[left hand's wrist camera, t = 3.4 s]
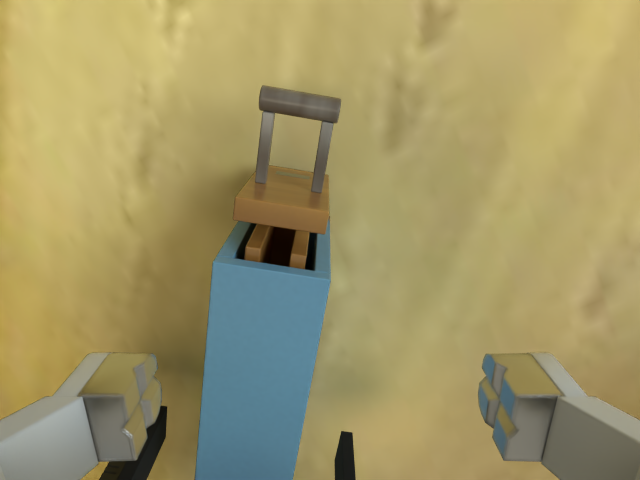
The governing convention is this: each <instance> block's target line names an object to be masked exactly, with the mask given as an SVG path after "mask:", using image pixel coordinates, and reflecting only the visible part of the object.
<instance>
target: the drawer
mask: <svg viewBox="0 0 640 480" xmlns="http://www.w3.org/2000/svg"><path fill="white" fill-rule="evenodd" d="M340 106H341V99H339V98H333V97H328V96H322V95H316V94H310V93H304V92H299V91H293V90H287V89H281V88H276V87H270V86H264V85H263V86H262V87H261V91H260V96H259V109H260V110H261V111H263V113H262V122H261V131H260V139H259V148H258V157H257V166H256V171H255V173H254V174H253V175H252V176H251V178H250V179H249V180H248V181H247V183H246V184H245V185H244V187H243V188H242V189H241V190H240V192H239V193H238V194H237V196H236V197H235V203H234V213H233V220H236V221H243V222H249V223H255V224H257V225H256V227H255V229H254V231H253V233H252V235H251V237H250V239H249V241H248V243H247V245H246V247H245V256H244V260H247V261H254V262H260V263H267V264H273V265H279V266H286V267H292V268H299V269H305V264H306V257H307V249H308V241H309V232H311V233H318V234H325V233H326V228H327V222H328V217H329V176H328V175H325V170H326V164H327V159H328V153H329V147H330V141H331V135H332V129H333V123H337V122H338V118H339V112H340ZM275 113H279V114H284V115H290V116H296V117H302V118H308V119H314V120H320V121H322V125H321V131H320V137H319V143H318V150H317V156H316V162H315V168H314V173H313V172H307V171H301V170H295V169H289V168H283V167H277V166H271V165H269V159H270V151H271V143H272V135H273V126H274V118H275Z"/></svg>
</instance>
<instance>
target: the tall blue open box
mask: <svg viewBox="0 0 640 480" xmlns="http://www.w3.org/2000/svg"><path fill="white" fill-rule="evenodd" d="M256 225H257V224H255V223H249V222H243V221H238V223H237V224H236V226H235V227H234V229H233V231H232V232H231V234H230V235H229V237H228V239H227V240H226V242H225V243H224V245H223V247H222V248H221V250H220V251H219V253H218V255H217V256H216V258H215V260H214V261H213V265H212V277H211V289H210V302H209V314H208V326H207V338H206V350H205V362H204V374H203V386H202V398H201V411H200V423H199V435H198V447H197V459H196V471H195V480H293V475H294V470H295V465H296V459H297V454H298V449H299V444H300V438H301V433H302V428H303V423H304V418H305V412H306V407H307V402H308V397H309V391H310V386H311V381H312V376H313V370H314V365H315V360H316V355H317V350H318V344H319V339H320V334H321V329H322V323H323V318H324V313H325V308H326V302H327V297H328V292H329V287H330V282H331V275H330V274H331V269H330V216H329V217H328V222H327V228H326V233H325V234H318V233H311V232H309V241H308V249H307V257H306V264H305V269H299V268H292V267H286V266H279V265H273V264H267V263H260V262H254V261H247V260H244V256H245V247H246V245H247V243H248V241H249V239H250V237H251V235H252V233H253V231H254V229H255V227H256Z"/></svg>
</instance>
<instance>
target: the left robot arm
mask: <svg viewBox="0 0 640 480" xmlns="http://www.w3.org/2000/svg"><path fill="white" fill-rule="evenodd" d="M157 369H158V365H157V360H156V356H155V355H154V354H152V353H114V352H113V353H110V352H93V353H90V354H88V355H87V356H86V357H85V358H84V359H83V360H82V362H81V363H80V364H79V365H78V366H77V367H76V369H75V370H74V371H73V372H72V373H71V375H70V376H69V377H68V378H67V379H66V380H65V382H64V383H63V384H62V385H61V386H60V388H59V389H58V390H57V391H56V392H55V393H54V395H53V396H50V397H43V398H42V399H40V400H38V401H36V402H34V403H32V404H30V405H28V406H26V407H24V408H22V409H21V410H19V411H17V412H15V413H13V414H11V415H9V416H7V417H5V418H3V419H1V420H0V480H80V479H81V478H83V477H84V476H85V475H86V474H87V473H88V472H89V471H91V470H92V469H93V468H94V467H95V466H96V465H98V462H105V461H136V460H137V458H138V456H139V454H140V452H141V450H142V448H143V446H144V444H145V442H146V440H147V438H148V436H147V430H146V429H147V428H148V427H149V426H151V425H152V424H153V423H155V421H156V419H157V416H158V414H159V411H160V406H161V402H162V389H161V383H160V382H159V381H158V380H157V379H156V378H155V377H154V374H155V373H156V371H157ZM482 369H483V371H484V373H485V374H486V377H485V378H484V379H483V380H482V381H481V382H480V383H479V391H478V399H479V407H480V411H481V414H482V417H483V419H484V421H485V423H487V424H488V425H489V426H491V427H492V428H493V429H494V430H493V436H492V438H493V440H494V442H495V444H496V446H497V448H498V450H499V452H500V454H501V456H502V458H503V460H504V461H535V462H542V463H541V464H543V465H544V466H545V467H546V468H547V469H548V470H550V471H551V472H552V473H553V474H554V475H555V476H556V477H558V478H559V479H560V480H640V420H638V419H637V418H635V417H633V416H631V415H629V414H627V413H625V412H623V411H621V410H619V409H617V408H616V407H614V406H612V405H610V404H608V403H606V402H604V401H602V400H600V399H598V398H597V397H590V396H587V395H586V393H585V392H584V391H583V390H582V389H581V388H580V386H579V385H578V384H577V383H576V382H575V381H574V379H573V378H572V377H571V376H570V375H569V373H568V372H567V371H566V370H565V369H564V368H563V366H562V365H561V364H560V363H559V362H558V360H557V359H556V358H555V357H554V356H553V355H552V354H550V353H548V352H536V353H513V354H486V355H485V357H484V359H483V364H482Z"/></svg>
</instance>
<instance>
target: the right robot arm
mask: <svg viewBox="0 0 640 480" xmlns="http://www.w3.org/2000/svg"><path fill="white" fill-rule="evenodd" d="M166 419H167V407H166V406H160V411H159V414H158V416H157V419H156V421H155V423H153V424H152V425H151V426H149V427H148V428H147V429H146V430H147V436H148V438H147V440H146V442H145V444H144V446H143V448H142V450H141V452H140V454H139V456H138V458H137V460H136V461H109V463H108V465H107V467H106V468H105V470H104V473H103V474H102V475H101V477H100V479H99V480H147V477H148V475H149V473H150V471H151V468H152V466H153V464H154V462H155V460H156V457H157V455H158V453H159V451H160V449H161V446H162V444H163V442H164V440H165V437H166ZM335 480H356V479H355V465H354V450H353V436H352V433H351V432H344V431H341V435H340V440H339V444H338V448H337V453H336V457H335Z"/></svg>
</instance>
